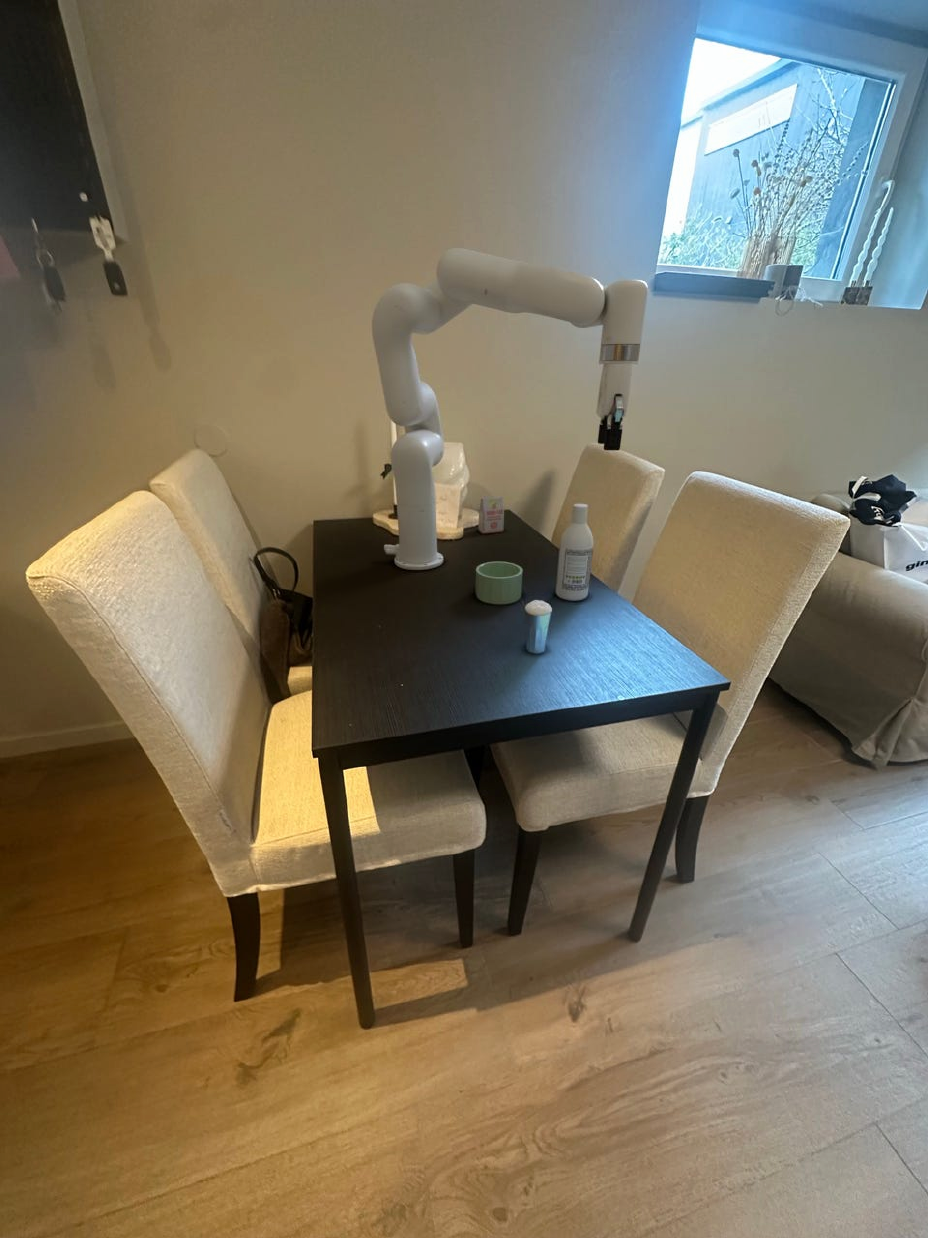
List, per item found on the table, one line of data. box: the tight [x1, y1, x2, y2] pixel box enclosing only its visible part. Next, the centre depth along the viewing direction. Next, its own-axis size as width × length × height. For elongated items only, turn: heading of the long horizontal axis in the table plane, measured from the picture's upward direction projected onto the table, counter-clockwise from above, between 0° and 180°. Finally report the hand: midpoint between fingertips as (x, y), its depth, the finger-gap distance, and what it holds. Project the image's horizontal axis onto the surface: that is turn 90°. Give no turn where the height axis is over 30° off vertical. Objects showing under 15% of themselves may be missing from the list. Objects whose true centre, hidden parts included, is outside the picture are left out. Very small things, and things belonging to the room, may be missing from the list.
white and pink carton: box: [478, 496, 505, 534], centre depth 151 cm, size 4×7×10 cm, turn 109°
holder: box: [475, 560, 524, 605], centre depth 109 cm, size 10×10×6 cm
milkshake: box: [520, 598, 553, 655], centre depth 86 cm, size 4×5×10 cm
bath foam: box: [555, 503, 595, 602], centre depth 105 cm, size 7×7×20 cm
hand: (608, 446), depth 106 cm, fingers open, 9 cm apart
